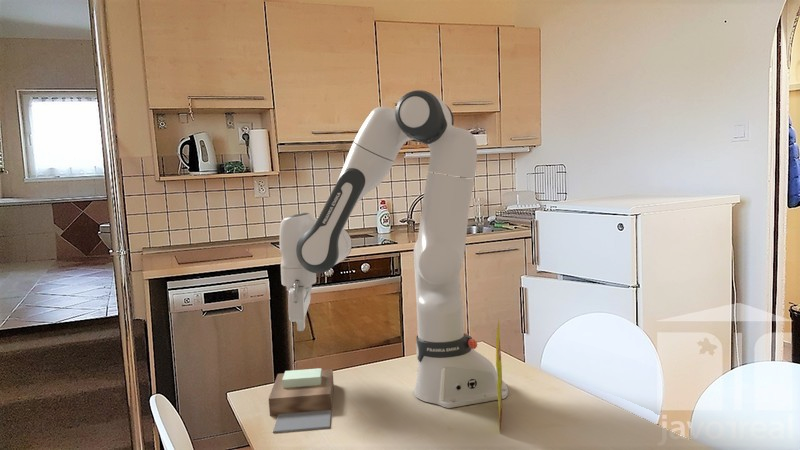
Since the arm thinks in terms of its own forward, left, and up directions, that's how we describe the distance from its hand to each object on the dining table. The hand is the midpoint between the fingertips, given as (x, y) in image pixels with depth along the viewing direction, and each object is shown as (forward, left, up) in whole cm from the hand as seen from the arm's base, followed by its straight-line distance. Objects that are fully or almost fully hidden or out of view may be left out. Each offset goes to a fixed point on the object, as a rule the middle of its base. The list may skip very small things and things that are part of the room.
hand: (301, 329), depth 147 cm
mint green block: (0, +9, -11) cm, 14 cm away
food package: (-44, +29, -15) cm, 55 cm away
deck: (0, +10, -15) cm, 18 cm away
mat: (-1, +22, -15) cm, 27 cm away
